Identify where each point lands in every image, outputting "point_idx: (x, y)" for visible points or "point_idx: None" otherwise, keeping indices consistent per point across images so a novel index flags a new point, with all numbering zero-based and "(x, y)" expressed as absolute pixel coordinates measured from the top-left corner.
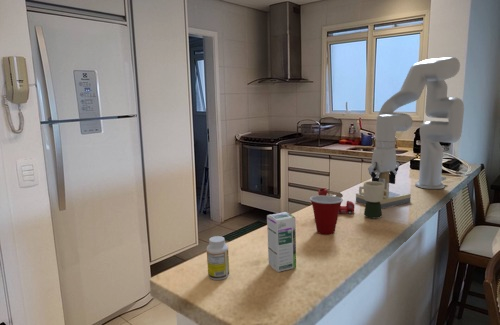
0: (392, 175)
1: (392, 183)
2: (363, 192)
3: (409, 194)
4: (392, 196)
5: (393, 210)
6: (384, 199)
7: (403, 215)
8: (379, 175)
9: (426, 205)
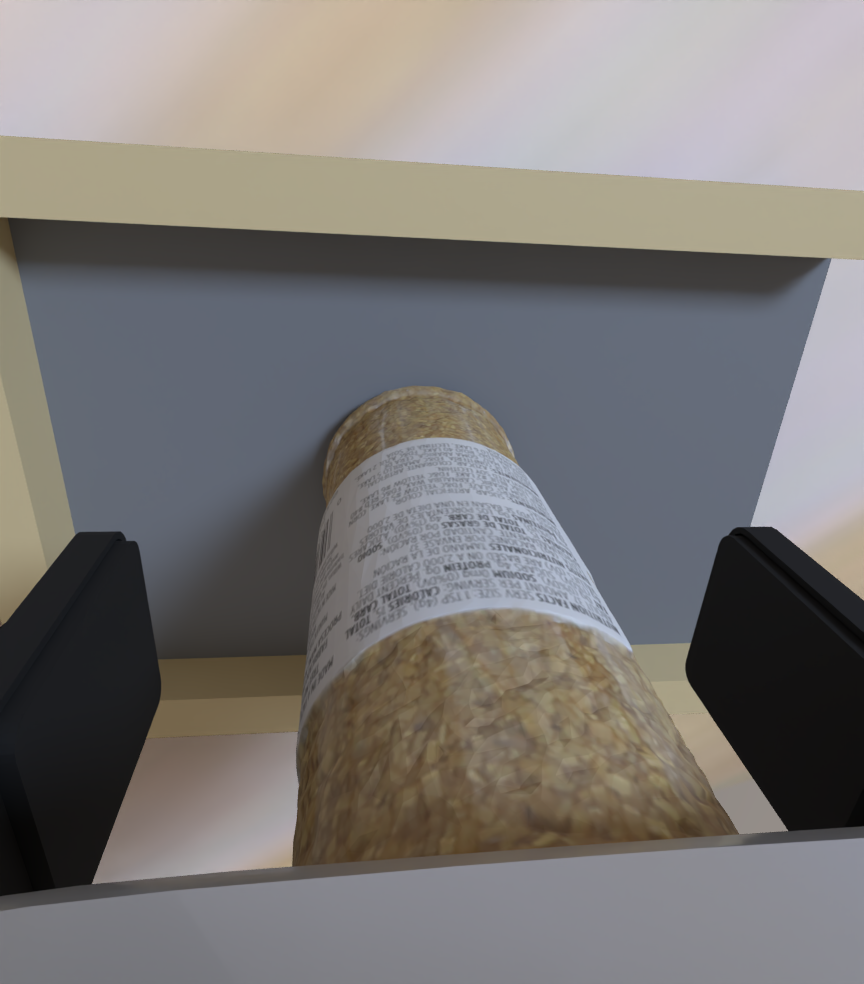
0: (827, 818)
1: (692, 647)
2: (116, 183)
3: (702, 711)
4: (569, 527)
5: (226, 737)
6: (163, 725)
7: (194, 861)
8: (297, 827)
9: None
